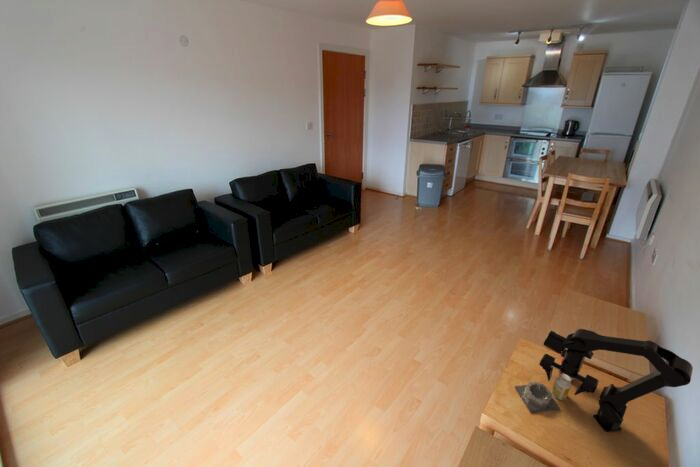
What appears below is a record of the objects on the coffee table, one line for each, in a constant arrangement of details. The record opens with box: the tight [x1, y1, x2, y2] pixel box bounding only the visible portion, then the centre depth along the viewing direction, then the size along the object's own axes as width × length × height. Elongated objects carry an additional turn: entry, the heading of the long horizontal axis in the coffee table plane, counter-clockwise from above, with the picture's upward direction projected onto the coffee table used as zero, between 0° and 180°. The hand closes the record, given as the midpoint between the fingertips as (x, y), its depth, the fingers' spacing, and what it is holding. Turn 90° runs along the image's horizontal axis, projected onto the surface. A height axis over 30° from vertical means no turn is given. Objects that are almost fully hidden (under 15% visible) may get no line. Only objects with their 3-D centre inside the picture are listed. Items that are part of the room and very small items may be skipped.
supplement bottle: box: [550, 373, 572, 401], centre depth 131 cm, size 5×5×10 cm
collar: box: [514, 381, 561, 413], centre depth 130 cm, size 11×12×4 cm
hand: (561, 387), depth 131 cm, fingers open, 9 cm apart
